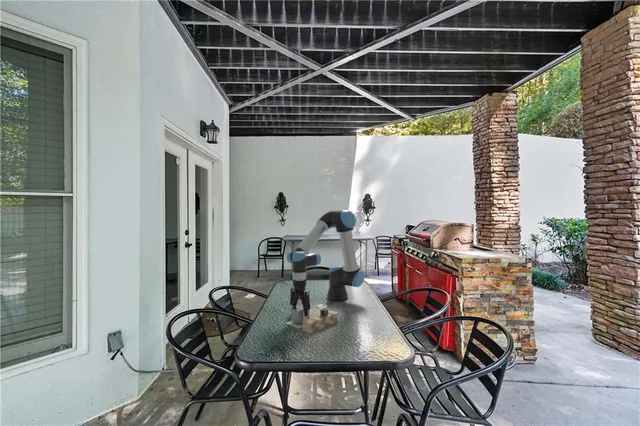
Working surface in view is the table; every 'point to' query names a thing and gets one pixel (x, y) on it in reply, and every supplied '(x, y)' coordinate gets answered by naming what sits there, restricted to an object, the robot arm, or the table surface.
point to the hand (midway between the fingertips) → (300, 319)
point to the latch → (324, 312)
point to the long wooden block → (319, 322)
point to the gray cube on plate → (297, 314)
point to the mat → (295, 324)
